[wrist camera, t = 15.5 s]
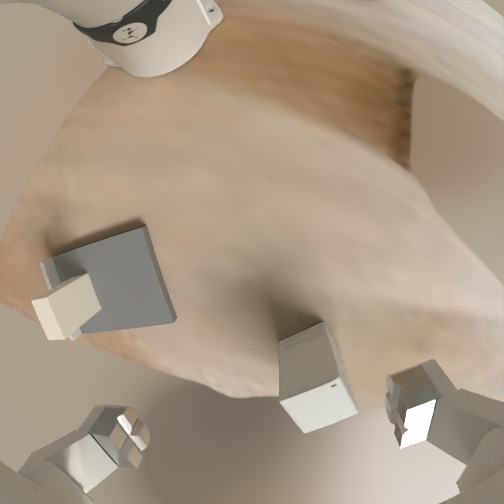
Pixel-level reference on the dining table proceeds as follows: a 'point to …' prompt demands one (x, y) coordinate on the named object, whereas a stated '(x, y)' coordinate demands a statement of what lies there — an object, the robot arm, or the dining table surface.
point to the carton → (66, 307)
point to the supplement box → (314, 379)
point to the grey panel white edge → (117, 281)
